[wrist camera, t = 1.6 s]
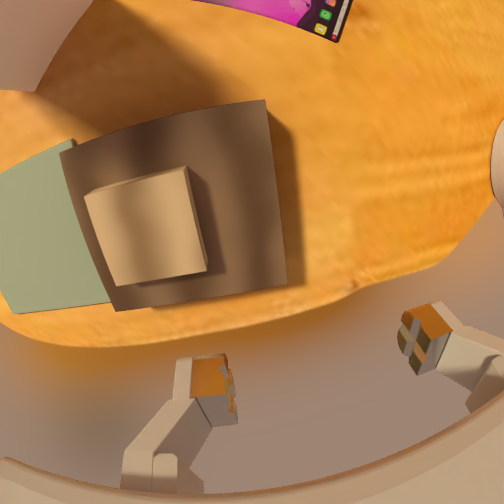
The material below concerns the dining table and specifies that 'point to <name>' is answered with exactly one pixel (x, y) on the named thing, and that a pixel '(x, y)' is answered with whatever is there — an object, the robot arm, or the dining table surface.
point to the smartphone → (298, 13)
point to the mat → (43, 239)
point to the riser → (205, 198)
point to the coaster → (148, 227)
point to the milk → (33, 38)
